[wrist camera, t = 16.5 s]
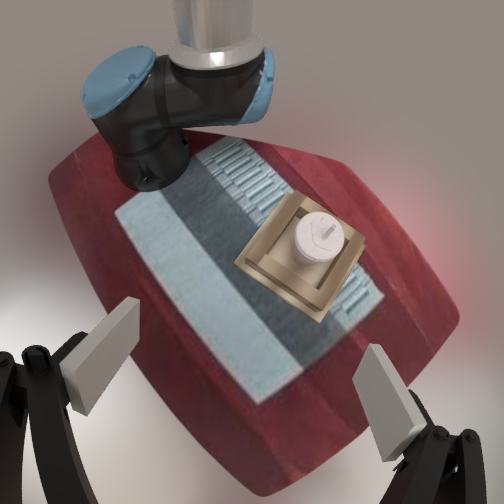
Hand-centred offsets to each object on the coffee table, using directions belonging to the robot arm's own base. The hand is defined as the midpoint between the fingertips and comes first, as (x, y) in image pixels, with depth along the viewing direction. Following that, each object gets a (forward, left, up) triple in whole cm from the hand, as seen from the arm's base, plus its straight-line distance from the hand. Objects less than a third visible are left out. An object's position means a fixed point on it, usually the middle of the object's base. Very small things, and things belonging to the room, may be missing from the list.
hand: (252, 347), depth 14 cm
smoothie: (0, +15, -26) cm, 30 cm away
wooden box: (0, +15, -27) cm, 31 cm away
